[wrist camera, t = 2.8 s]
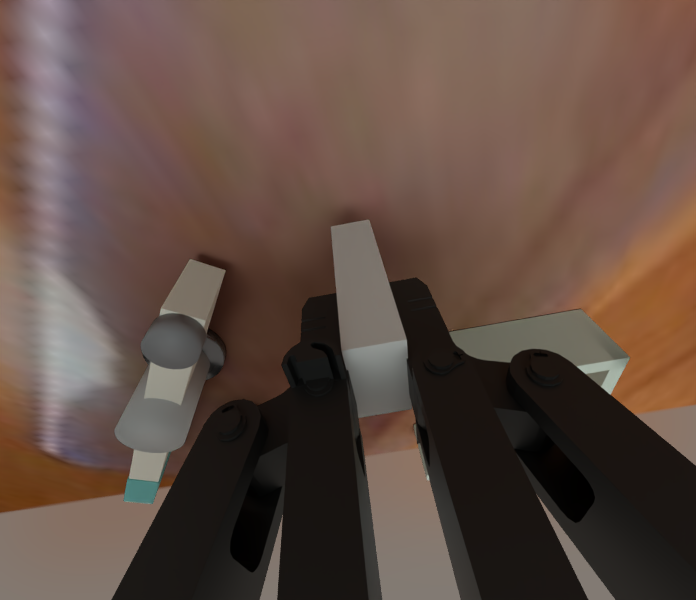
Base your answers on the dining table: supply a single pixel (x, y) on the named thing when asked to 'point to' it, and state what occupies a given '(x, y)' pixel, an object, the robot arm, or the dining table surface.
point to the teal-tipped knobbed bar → (169, 379)
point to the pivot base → (212, 353)
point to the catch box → (547, 345)
